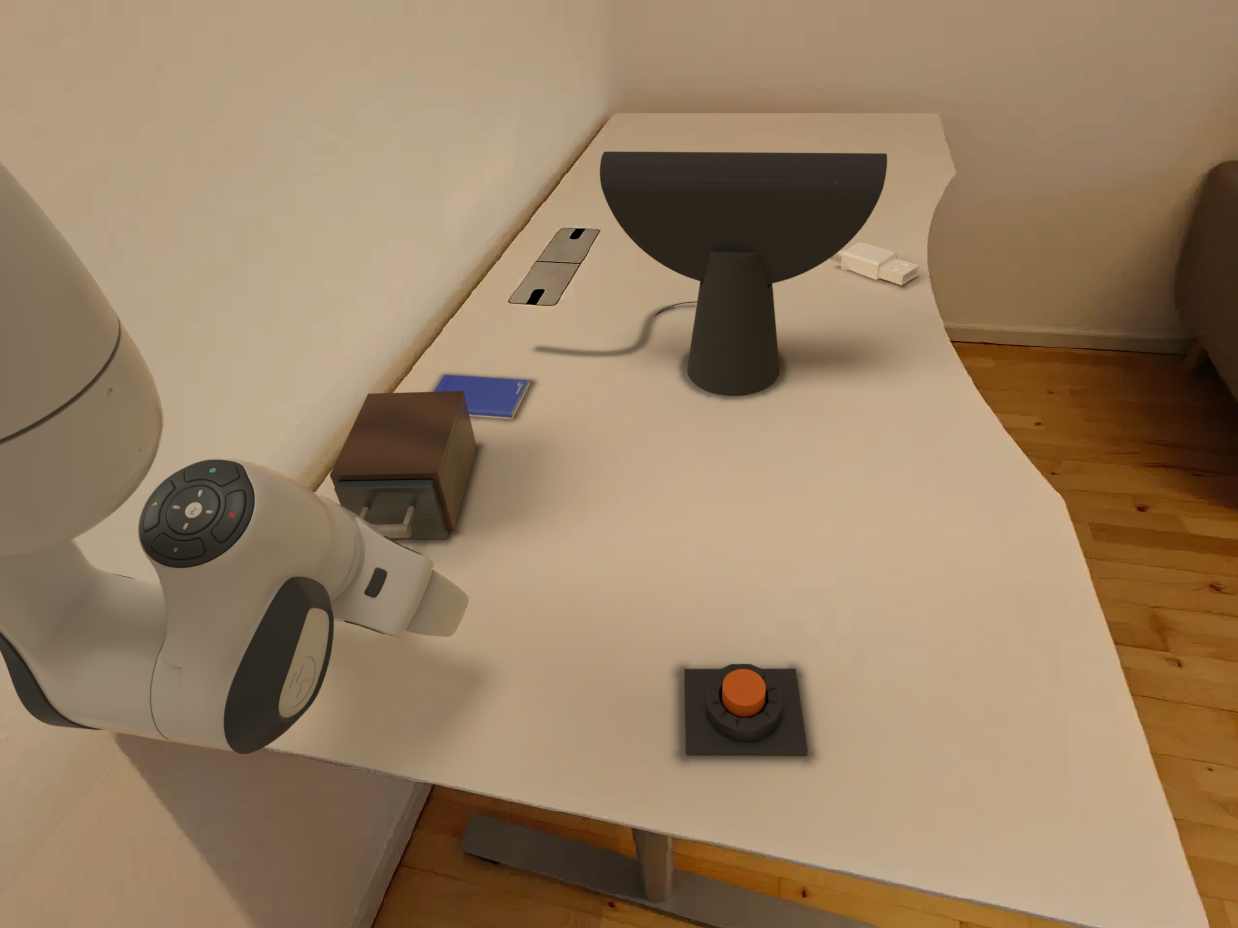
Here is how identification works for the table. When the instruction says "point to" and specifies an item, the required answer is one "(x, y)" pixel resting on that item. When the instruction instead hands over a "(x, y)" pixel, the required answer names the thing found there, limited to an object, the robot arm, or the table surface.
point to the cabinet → (412, 444)
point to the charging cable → (877, 263)
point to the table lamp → (740, 239)
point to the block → (734, 735)
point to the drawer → (396, 506)
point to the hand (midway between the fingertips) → (384, 584)
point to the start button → (743, 693)
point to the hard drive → (487, 394)
